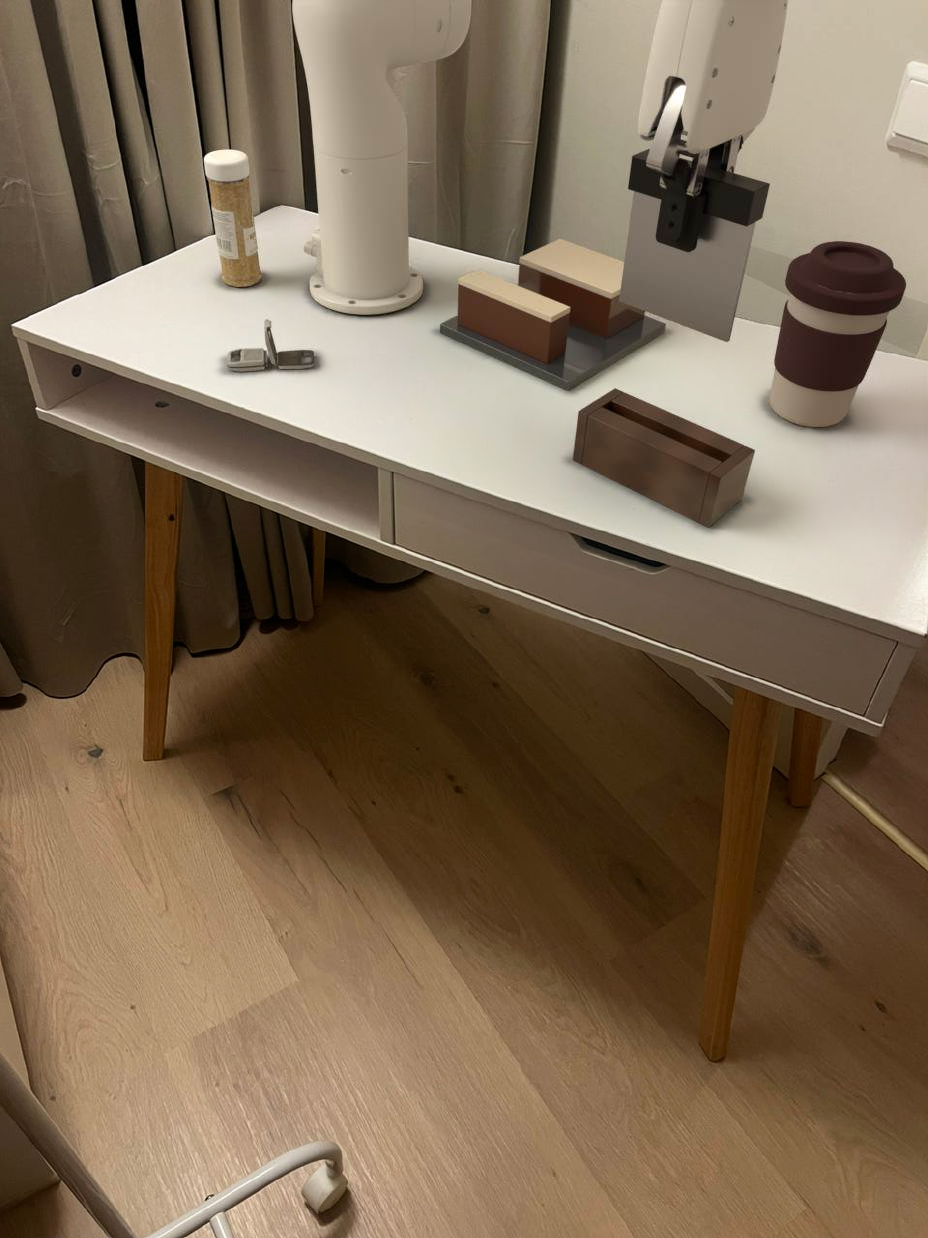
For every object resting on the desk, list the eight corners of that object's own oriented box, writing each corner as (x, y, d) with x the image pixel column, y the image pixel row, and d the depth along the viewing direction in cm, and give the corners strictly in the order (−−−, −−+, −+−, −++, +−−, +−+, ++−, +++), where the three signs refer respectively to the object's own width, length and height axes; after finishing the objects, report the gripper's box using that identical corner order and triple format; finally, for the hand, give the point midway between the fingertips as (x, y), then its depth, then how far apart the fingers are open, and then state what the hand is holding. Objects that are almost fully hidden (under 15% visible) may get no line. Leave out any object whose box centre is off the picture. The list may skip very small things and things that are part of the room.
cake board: (439, 332, 104) (440, 277, 100) (540, 282, 114) (544, 230, 110) (567, 391, 96) (574, 333, 92) (664, 332, 106) (674, 278, 102)
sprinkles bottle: (269, 282, 112) (255, 157, 103) (231, 291, 110) (213, 165, 101) (251, 267, 115) (236, 144, 105) (214, 276, 113) (196, 151, 104)
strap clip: (227, 373, 97) (221, 332, 94) (228, 357, 99) (222, 318, 96) (315, 368, 98) (311, 329, 95) (314, 353, 100) (310, 314, 97)
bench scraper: (612, 304, 79) (631, 155, 72) (627, 295, 81) (648, 148, 73) (720, 346, 75) (754, 191, 67) (735, 336, 76) (770, 183, 68)
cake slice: (457, 324, 104) (458, 278, 100) (476, 314, 105) (477, 269, 102) (547, 364, 98) (551, 316, 95) (565, 353, 100) (570, 306, 96)
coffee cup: (782, 372, 100) (823, 223, 90) (876, 406, 96) (930, 254, 86) (735, 411, 95) (773, 256, 84) (833, 449, 90) (885, 292, 80)
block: (572, 460, 88) (578, 410, 84) (607, 436, 91) (615, 387, 87) (708, 527, 81) (721, 477, 78) (742, 499, 84) (755, 449, 81)
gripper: (751, -80, 67) (700, 198, 80) (613, -51, 58) (580, 257, 71) (854, -64, 63) (784, 224, 76) (725, -31, 55) (669, 289, 67)
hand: (686, 238), depth 73 cm, fingers closed on bench scraper, 2 cm apart
